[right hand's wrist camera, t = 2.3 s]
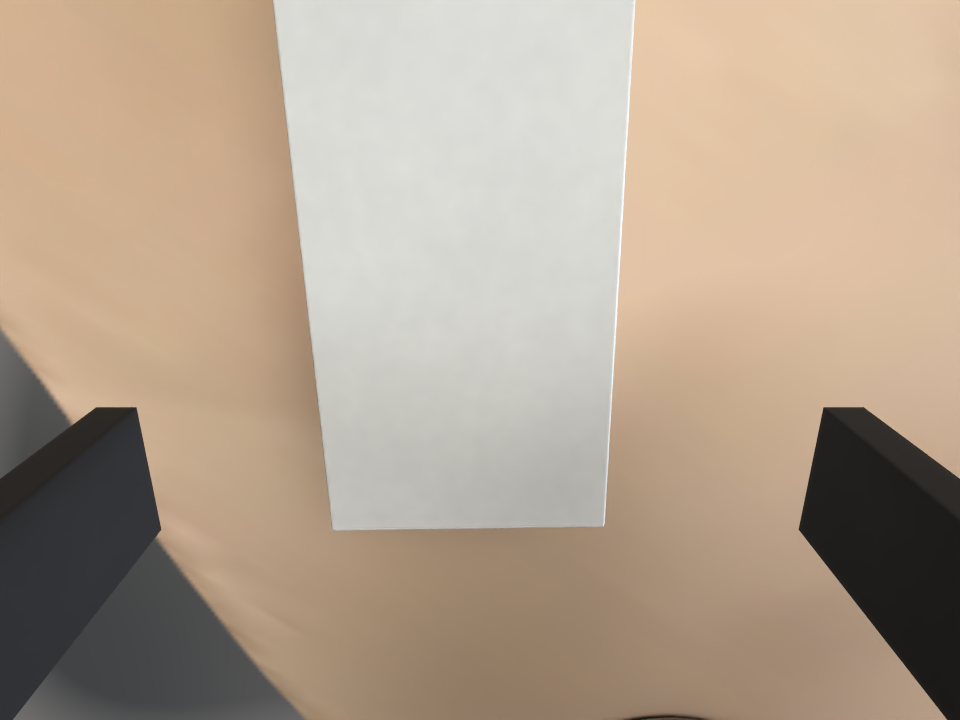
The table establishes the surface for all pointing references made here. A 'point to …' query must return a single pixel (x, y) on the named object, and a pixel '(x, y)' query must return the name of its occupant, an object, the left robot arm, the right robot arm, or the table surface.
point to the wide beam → (460, 251)
